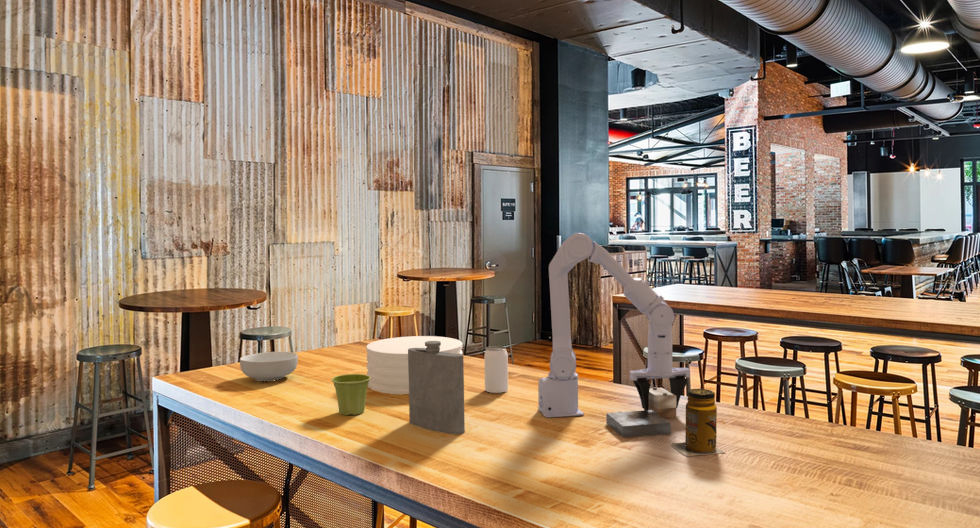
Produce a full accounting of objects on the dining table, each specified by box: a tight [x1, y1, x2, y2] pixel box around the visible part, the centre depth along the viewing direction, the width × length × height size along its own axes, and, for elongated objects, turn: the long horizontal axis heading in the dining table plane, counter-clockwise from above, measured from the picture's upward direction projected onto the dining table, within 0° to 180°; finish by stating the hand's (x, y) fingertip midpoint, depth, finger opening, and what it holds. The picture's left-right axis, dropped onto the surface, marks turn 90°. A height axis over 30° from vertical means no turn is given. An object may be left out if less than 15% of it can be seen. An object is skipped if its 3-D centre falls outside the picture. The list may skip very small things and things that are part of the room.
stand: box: [605, 409, 672, 438], centre depth 148 cm, size 11×10×2 cm
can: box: [483, 345, 509, 394], centre depth 182 cm, size 6×6×12 cm
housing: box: [643, 386, 677, 421], centre depth 158 cm, size 5×8×6 cm, turn 10°
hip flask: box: [408, 341, 466, 436], centre depth 150 cm, size 16×4×20 cm, turn 52°
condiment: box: [669, 388, 725, 457], centre depth 134 cm, size 7×8×12 cm
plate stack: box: [366, 335, 464, 395], centre depth 194 cm, size 28×28×12 cm
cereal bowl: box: [239, 351, 299, 383], centre depth 200 cm, size 17×17×7 cm
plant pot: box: [331, 373, 371, 416], centre depth 163 cm, size 9×9×9 cm
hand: (659, 407), depth 158 cm, fingers open, 7 cm apart
